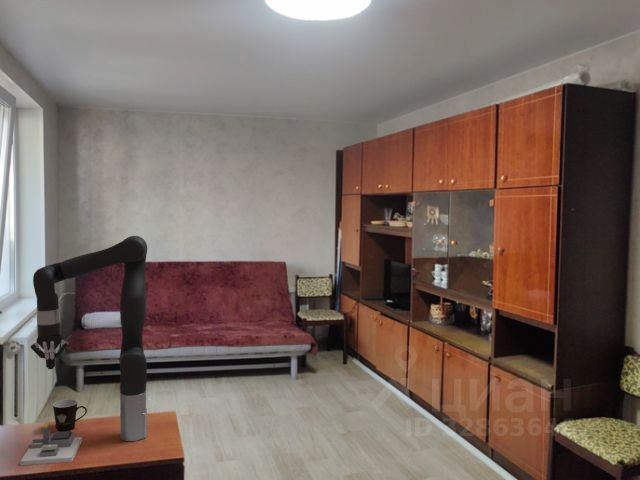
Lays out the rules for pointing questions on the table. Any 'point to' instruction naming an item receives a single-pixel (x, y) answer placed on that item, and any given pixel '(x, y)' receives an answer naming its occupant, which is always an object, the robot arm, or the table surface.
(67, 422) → the coffee mug
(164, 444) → the table surface
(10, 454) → the table surface
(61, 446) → the panel
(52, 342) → the robot arm
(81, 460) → the table surface
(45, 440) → the paddle slider
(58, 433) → the push button
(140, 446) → the table surface
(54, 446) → the rocker switch
